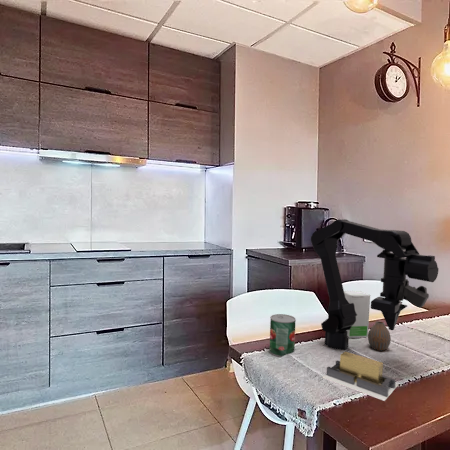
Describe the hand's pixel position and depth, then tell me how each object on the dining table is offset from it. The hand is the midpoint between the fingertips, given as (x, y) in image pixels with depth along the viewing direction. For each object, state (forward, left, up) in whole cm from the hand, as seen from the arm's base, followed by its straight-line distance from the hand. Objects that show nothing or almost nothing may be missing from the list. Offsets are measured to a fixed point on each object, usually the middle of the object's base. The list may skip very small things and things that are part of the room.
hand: (391, 329), depth 102 cm
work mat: (-3, -14, -12) cm, 19 cm away
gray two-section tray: (-3, -14, -11) cm, 18 cm away
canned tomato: (-29, -11, -12) cm, 33 cm away
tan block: (-3, -14, -11) cm, 18 cm away
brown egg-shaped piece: (-8, +15, -12) cm, 21 cm away
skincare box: (-19, +21, -12) cm, 31 cm away
